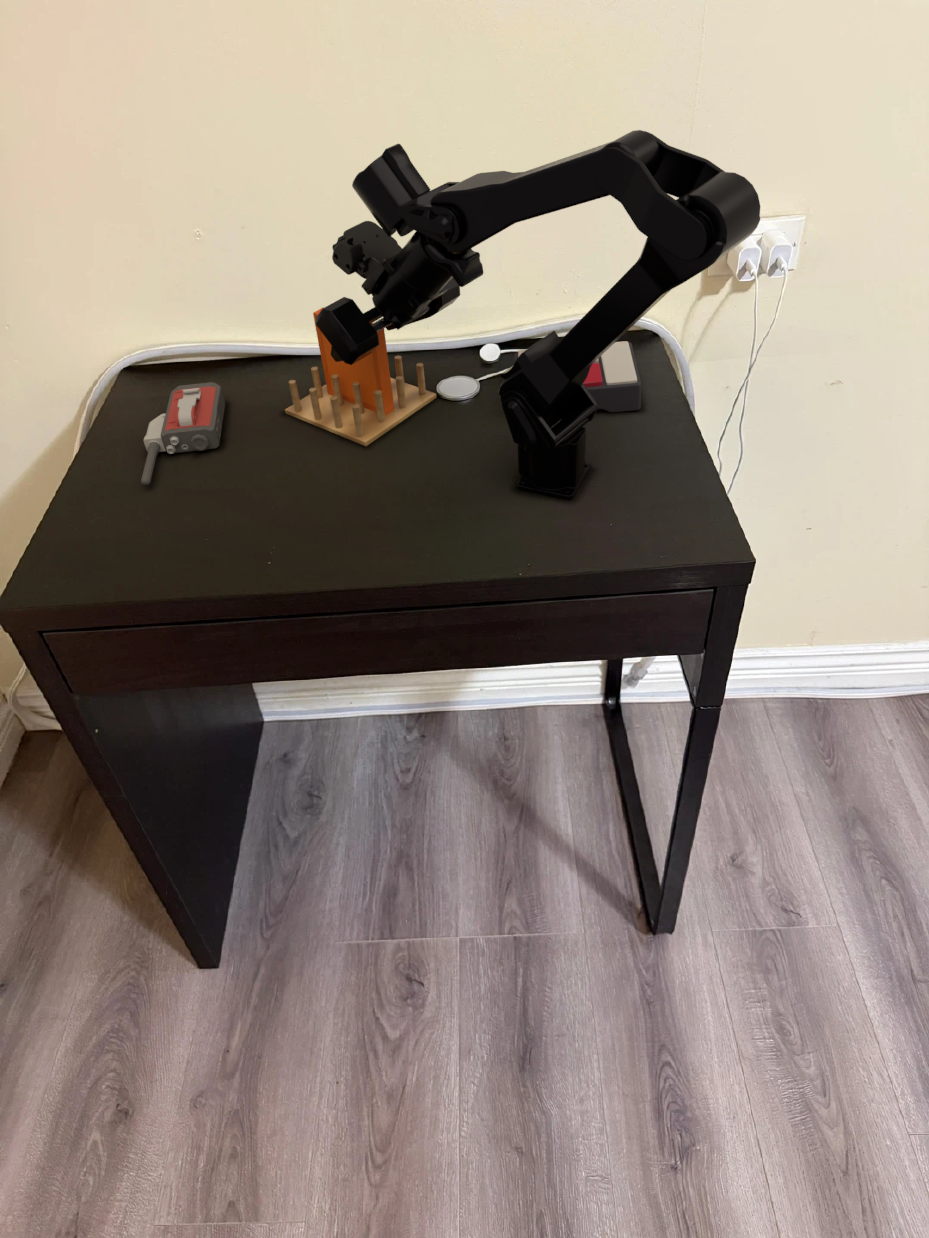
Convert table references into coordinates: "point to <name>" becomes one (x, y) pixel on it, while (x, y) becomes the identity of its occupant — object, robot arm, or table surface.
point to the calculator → (614, 379)
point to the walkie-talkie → (186, 423)
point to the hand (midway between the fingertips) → (360, 342)
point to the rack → (359, 406)
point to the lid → (359, 373)
